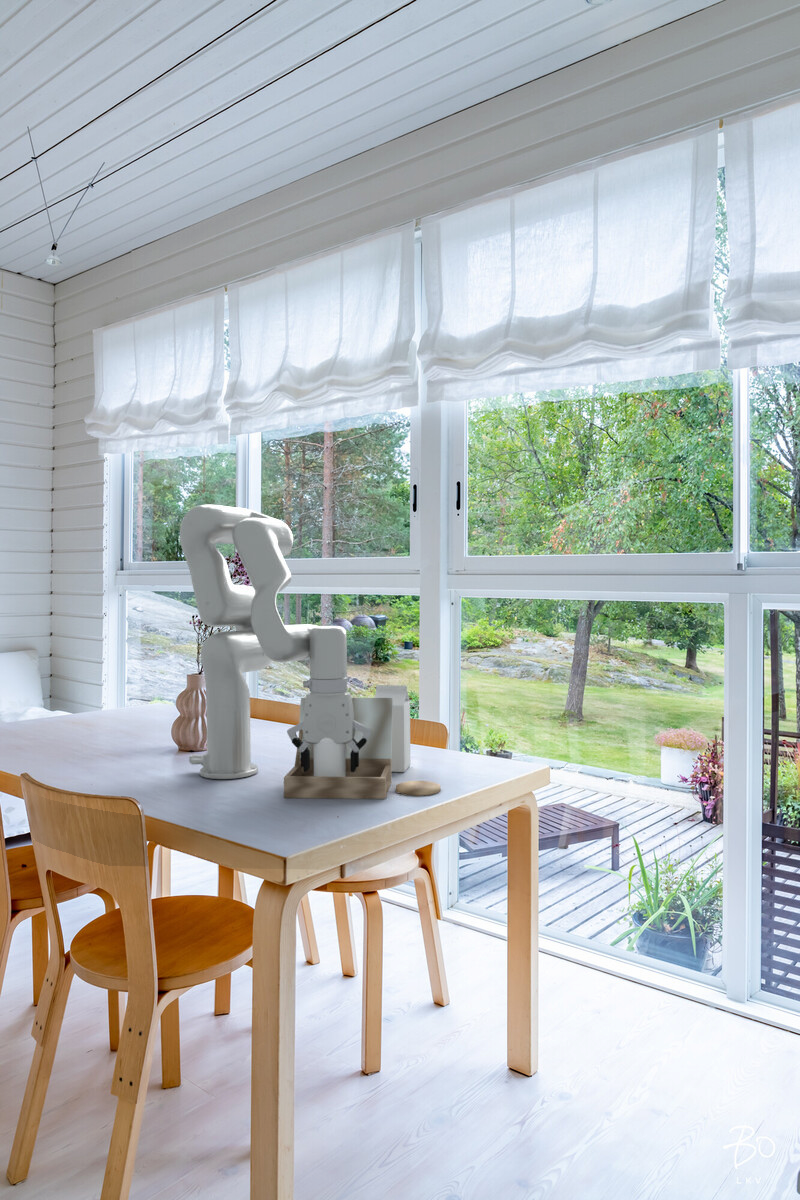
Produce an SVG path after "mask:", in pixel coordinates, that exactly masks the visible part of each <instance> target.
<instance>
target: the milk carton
mask: <svg viewBox="0 0 800 1200" xmlns="http://www.w3.org/2000/svg"><path fill="white" fill-rule="evenodd" d="M373 698H393V706H392V752H391V773H393V772H395V773H405V772H407V770H408V768H409V767H410V766H411V700H410V696H409V692H408V685H406V684H405V685H403V684H401V685H400V684H399V685H397V684H396V685H395V684H376V686H375V693H374V697H373Z"/></svg>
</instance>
